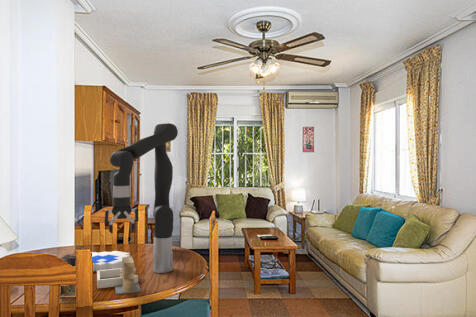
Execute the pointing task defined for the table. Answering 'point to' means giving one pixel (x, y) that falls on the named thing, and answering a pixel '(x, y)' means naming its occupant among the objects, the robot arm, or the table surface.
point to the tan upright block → (127, 274)
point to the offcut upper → (121, 272)
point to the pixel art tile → (108, 260)
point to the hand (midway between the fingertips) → (121, 232)
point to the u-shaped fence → (111, 281)
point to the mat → (120, 291)
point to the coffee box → (68, 289)
